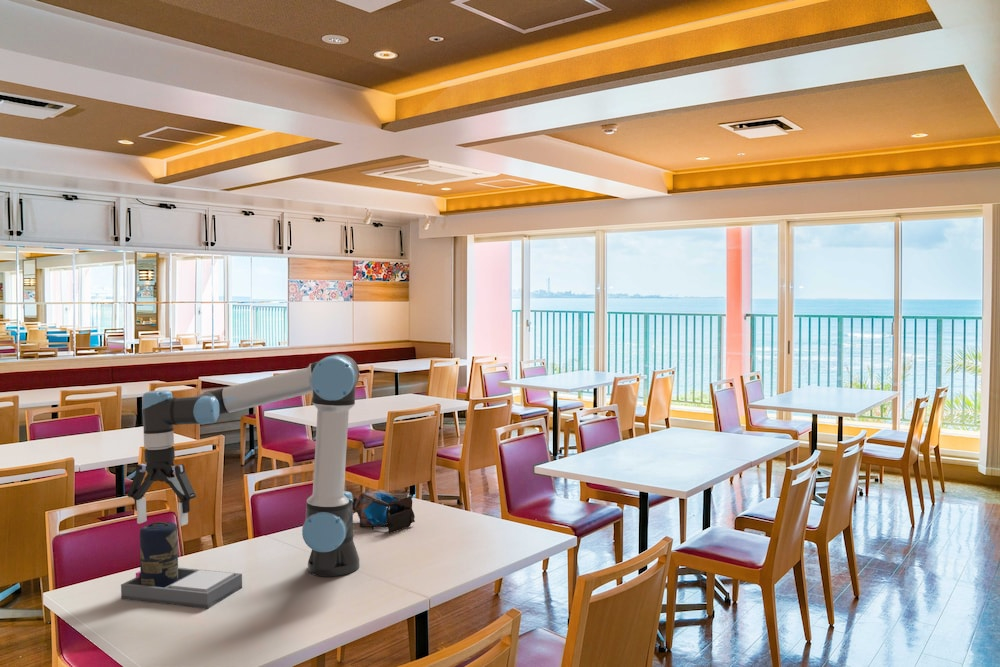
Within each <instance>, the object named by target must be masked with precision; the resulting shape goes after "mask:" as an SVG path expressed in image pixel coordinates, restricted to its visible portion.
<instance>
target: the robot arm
mask: <svg viewBox="0 0 1000 667" xmlns="http://www.w3.org/2000/svg"><path fill="white" fill-rule="evenodd" d="M359 380H360V368H359V365H358V363H357V362H356V361H355V360H354V359H353V358H352V357H350V356H348V355H347V354H343V353H335V354H331V355H329V356H325V357H324V358H321V359H320V360H318V361H316V362H312V363H309V365H308V366H307V367H305V368H302V369H301V368H299V369H297V370H292V371H288V372H284V373H279V374H277V375H272V376H267V377H263V378H259V379H256V380H252V381H251V380H250V381H247V382H244V383H239V384H235V385H232V386H231V385H230V386H226V387H223V388H219V389H214V390H208V391H205V392H203V393H200V394H197V395H194V396H185V397H174V396H173V393H172V391H171V390H167V389H165V390H162V389H161V390H150V391H147V392H145V393H143V394H142V404H141V405H142V407H141V411H142V423H143V424H142V426H143V427H142V428H143V447H144V448H145V449H144V462H142V463H139V464H136V466H135V474H134V476H133V479H132V482H131V484H130V487H129V489H128V493H127V497H128V498H131V499H133V500H134V510H135V512H136V524H139V525H140V524H143V523H145V522H148V520H147V517H148V516H147V500H146V497H145V495H146V493H147V491H148V490H149V489H150V487H151V485H152V484H153V483H154V482H162V483H163V482H164V483H165V484H168V485H169V487H170V488H171V489H172V491H173V492H174V494H175V495H176V497H177V498H178V499H179V502H178V503H177V504H178V505H177V506H178V525H179V527H183V526H186V525H188V524H189V513H190V508H191V506H190V501H191V500H192V499H195V498H196V497H197V495H196V493H195V489H194V488H193V486H192V484H191V482H190V479H189V477H188V475H187V474H186V473H187V472H186V468H185V465H184V464H183V463H181V464H178V465H175V464H174V461H175V458H176V456H175V455H176V453H175V447H174V446H173V445H174V444H175V440H174V438H175V437H174V436H175V434H174V426H178V425H179V426H180V425H207V424H215V423H216V422H217V421H218V419H219V417H220V416H222V415H223V416H224V415H228V414H230V413H233V412H239V411H242V410H247V409H251V408H255V407H259V406H264V405H267V404H272V403H275V402H279V401H285V400H288V399H289V400H290V399H291V398H297V397H300V396H305V395H309V394H312V401H311V402H312V403H311V404H312V406H314V408H316V409H317V411H316V429H315V430H316V431H315V446H314V466H313V481H312V494H311V495H310V496H309V497H308V498H307V499H306V506H305V508H306V509H305V520H304V522H303V525H302V527H301V528H302V529H301V532H302V533H301V535H302V539H303V541H304V543H305V544H306V545H307V547H308V548H310V549H311V551H310V555H309V557H308V561H307V571H308V573H309V574H310V575H313V576H318V577H338V576H344V575H347V574H351V573H354V572H355V571H357V570H358V569H359V568H360V557H359V554H358V551H357V548H356V546H355V545H356V544H355V543H354V519H353V518H354V514H353V513H354V510H353V499H354V498H353V493H352V492H351V491H347V490H345V480H346V464H347V450H348V449H347V448H348V447H347V446H348V429H349V427H348V426H349V414H350V413H349V412H350V410H351V409H352V408H353V407H354V406H355V405H356V404H355V403H356V386H357V384H358V382H359ZM146 472H147V475H146ZM145 475H146V476H145Z"/></svg>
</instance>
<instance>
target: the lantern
mask: <svg viewBox="0 0 1000 667" xmlns="http://www.w3.org/2000/svg"><path fill="white" fill-rule="evenodd" d="M412 498H413V497H412V496H411V495H408V496H407V497H405V498H402V499H400V498H398V497H397V496H395V495H393V493H391V492H389V491H387V490H386V489H384V488H381V489H377V490H376V489H375V490H371V491H367V492H361V493H360V494H359V496H358V497H357V496H354V497H353V498H352V499H353V515H355V512H356V513H357V516H358V518H359V524H358V525H359V527H360V528H371V531H372V530H374V528H387V529H388V534H391V533H394V531H395V532H398V531H401V530H403V529H404V530H405V529H406V527H408V528H410V527H411V525H412V523H415V522H416V521H415V513H414V510H413V499H412ZM385 523H386V524H385ZM409 526H410V527H409ZM400 529H401V530H400ZM397 530H398V531H397Z"/></svg>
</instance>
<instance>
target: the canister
mask: <svg viewBox="0 0 1000 667" xmlns="http://www.w3.org/2000/svg"><path fill="white" fill-rule="evenodd" d="M178 534H179V533H178V525H177V524H176V523H175V522H170V521H169V522H168V521H155V522H152V523H150V524H146V525H144V526H142V527H141V528H140V530H139V548H140V549H139V550H140V551H139V552H140V557H139V558H140V559H139V560H140V562H139V563H140V564H139V565H140V567H139V568H140V571H141V585H145V586H155V587H166V586H168V585H170V584H172V583H174V582H176V581H178V568H179V558H178V557H179V556H178V554H179V544H178V542H179V541H178V538H179V537H178Z"/></svg>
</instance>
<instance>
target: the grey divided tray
mask: <svg viewBox="0 0 1000 667" xmlns="http://www.w3.org/2000/svg"><path fill="white" fill-rule="evenodd" d="M241 589H243V573H238V572H230V571H229V572H228V571H220V570H219V571H217V570H207V569H197V568H195V569H194V568H185V567H178V581H176V582H174V583H172V584H170V585H168V586H166V587H155V586H145V585H141V570H140V571H139V570H138V572H135V577H134V578H132V579H130V580H127V581H126V582H124V583H122V584H120V594H121V595H120V596H121V598H120V599H121V600H125V601H134V602H142V603H143V602H144V603H150V604H151V603H153V604H160V605H171V606H180V607H187V608H196V609H197V608H198V609H205V610H207V609H208V610H209V608H211V607H213V606H215V605H217V604H218V603H220V602H221V601H223V600H225V599H226V598H228V597H230V596H231V595H233V594H235V593H237V592H238V591H239V590H241Z"/></svg>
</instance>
